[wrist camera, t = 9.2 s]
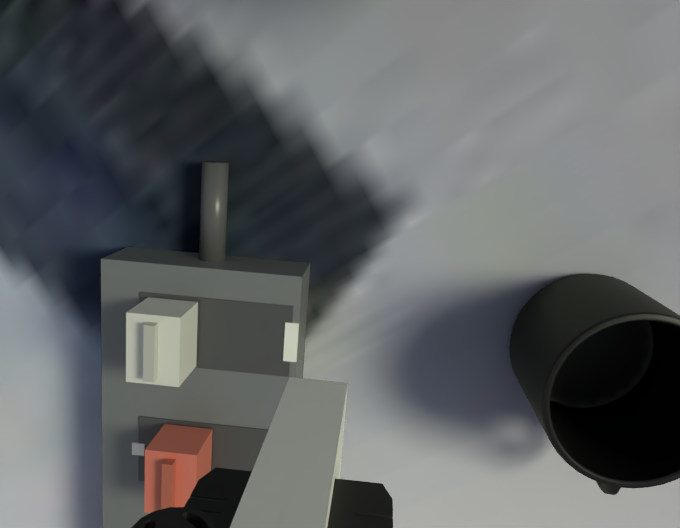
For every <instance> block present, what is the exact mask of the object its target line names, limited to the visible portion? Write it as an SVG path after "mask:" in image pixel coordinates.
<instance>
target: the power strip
mask: <svg viewBox="0 0 680 528" xmlns="http://www.w3.org/2000/svg"><path fill="white" fill-rule="evenodd" d="M228 172H229V163H225V162H214V161H202V174H201V209H200V245H199V253H193V252H182V251H171V250H160V249H149V248H138V247H126V248H124V249H122V250H120V251H117V252H115V253H113V254H110V255H108V256H106V257H104V258H101V365H102V528H131V527H132V526H133V525H134V524H135V523H136V522H137V521H138V520H139V519H140V518H142V517H144V516H146V515H148V514H150V513H144V495H145V449H146V448H147V446H148V445H149V444H150V442H151V441H152V440H153V439H154V437H155V436H156V435H157V433H158V432H159V431H160V429H161V428H162V427H163V425H164V424H170V425H179V426H189V427H198V428H208V429H212V456H211V470H213V469H214V468H215V467H217V468H226V469H235V470H244V471H252V470H253V468H254V465H255V463H256V460H257V458H258V455H259V453H260V450H261V448H262V445H263V443H264V440H265V438H266V435H267V433H268V430H269V428H270V425H271V422H272V420H273V417H274V415H275V412H276V410H277V407H278V405H279V402H280V400H281V397H282V395H283V392H284V390H285V387H286V385H287V382H288V380H289V377H293V378H303V365H304V350H305V335H306V320H307V305H308V290H309V275H310V263H305V262H294V261H283V260H272V259H261V258H249V257H238V256H227V255H225V252H226V225H227V199H228ZM148 297H151V298H161V299H172V300H183V301H193V302H198V323H197V359H196V367H195V368H194V369H193V371H192V372H191V373H190V374H189V375H188V377H187V378H186V379H185V380H184V382H183V383H182V384H181V385H180V386H179V387H173V386H163V385H153V384H144V383H134V382H126V312H128V311H129V310H130V309H132V308H133V307H135V306H136V305H138V304H139V303H141V302H142V301H144V300H145V299H146V298H148Z"/></svg>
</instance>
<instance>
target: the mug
mask: <svg viewBox="0 0 680 528" xmlns="http://www.w3.org/2000/svg"><path fill="white" fill-rule="evenodd" d="M510 359H511V364H512V368H513V371H514V373H515V375H516V378H517V379H518V381H519V383H520V385H521V387H522V389H523V391H524V393H525V394H526V396H527V398H528V400H529V402H530V404H531V406H532V408H533V410H534V411H535V413H536V415H537V417H538V419H539V421H540V423H541V425H542V427H543V428H544V430H545V432H546V434H547V436H548V438H549V440H550V442H551V443H552V445H553V447H554V448H555V450H556V451H557V453H558V454H559V455H560V456H561V457H562V458H563V459H564V460H565V461H566V462H567V463H568V464H569V465H570V466H571V467H573V468H574V469H575V470H577V471H578V472H579V473H581V474H583V475H585V476H587V477H588V478H591V479H593V480H595V481H596V482H597V483H598V485H599V487H600V489H601V490H602V491H603V492H604V493H606V494H612V495H615V494H617V493H618V491H619V490H620V488H621V487H624V488H644V487H652V486H657V485H661V484H665V483H668V482H671V481H673V480H676V479H678V478H680V315H678V314H676V313H675V312H673V311H672V310H670V309H668V308H667V307H665V306H664V305H662V304H660V303H659V302H657V301H655V300H654V299H652V298H651V297H649V296H647V295H646V294H644V293H643V292H641V291H639V290H638V289H636V288H635V287H633V286H631V285H629V284H628V283H626V282H624V281H622V280H619V279H616V278H614V277H610V276H605V275H599V274H583V275H575V276H571V277H567V278H563V279H561V280H558V281H556V282H554V283H552V284H550V285H548V286H546V287H545V288H543V289H542V290H540V291H539V292H538V293H537V294H535V295H534V296H533V297H532V298H531V299H530V300H529V301H528V303H527V304H526V305H525V306H524V307H523V309H522V310H521V312H520V314H519V315H518V317H517V319H516V322H515V324H514V326H513V330H512V333H511V338H510Z"/></svg>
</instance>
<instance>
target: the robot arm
mask: <svg viewBox="0 0 680 528" xmlns="http://www.w3.org/2000/svg"><path fill="white" fill-rule="evenodd" d="M347 386H348V383H343V382H333V381H323V380H313V379H303V378H293V377H289V380H288V382H287V385H286V387H285V390H284V392H283V395H282V397H281V400H280V402H279V405H278V407H277V410H276V412H275V415H274V417H273V420H272V422H271V425H270V428H269V430H268V433H267V435H266V438H265V440H264V443H263V445H262V448H261V450H260V453H259V455H258V458H257V460H256V463H255V465H254V468H253V470H252V471H244V470H235V469H226V468H217V467H215V468H214V469H213V470H211V471H210V472H209V473H207V474H206V475H205V476H203V477H202V478H200V479H199V480H198V482H197V484H196V486H195V488H194V489H193V491H192V493H191V495H190V498H189V499H188V501H187V502H186V504H185V506H184V507H169V508H165V509H161V510H157V511H154V512H152V513H150V514H148V515H146V516H144V517H142V518H140V519H139V520H138V521H137V522H136V523H135V524H134V525H133V526H132V527H131V528H393V519H392V517H393V507H392V498H391V496H390V495H389V493H388V492H387V490H386V489H385V487H384V486H383V484H380V483H370V482H361V481H352V480H343V479H340V471H341V459H342V446H343V434H344V422H345V410H346V398H347Z"/></svg>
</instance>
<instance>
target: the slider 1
mask: <svg viewBox="0 0 680 528" xmlns="http://www.w3.org/2000/svg"><path fill="white" fill-rule="evenodd" d="M197 323H198V302H193V301H183V300H172V299H161V298H151V297H148V298H146V299H145V300H144V301H142V302H141V303H139V304H138V305H136V306H135V307H133V308H132V309H130V310H129V311H128V312H126V382H134V383H144V384H153V385H163V386H173V387H179V386H180V385H181V384H182V383H183V382H184V380H185V379H186V378H187V377H188V375H189V374H190V373H191V372H192V371H193V369H194V368H195V367H196V359H197Z"/></svg>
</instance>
